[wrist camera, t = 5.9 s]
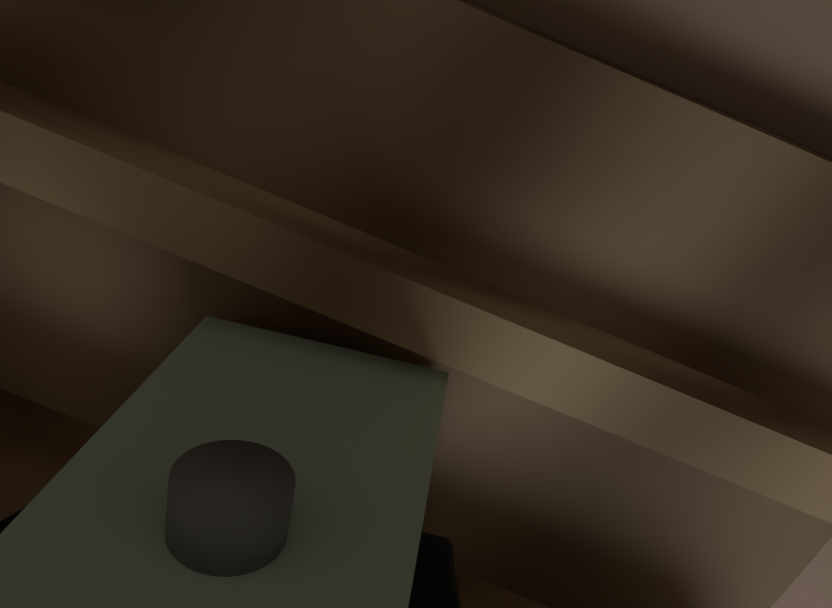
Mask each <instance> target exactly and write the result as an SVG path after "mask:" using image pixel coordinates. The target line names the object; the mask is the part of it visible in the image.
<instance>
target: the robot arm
mask: <svg viewBox="0 0 832 608" xmlns="http://www.w3.org/2000/svg"><path fill="white" fill-rule="evenodd" d="M25 507H26V506H25ZM25 507H24V508H25ZM24 508H22V509H20V510H18V511H17V512H15V513H13V514H12V515H10V516H8V517H7V518H5V519H3V520H2V521H0V534H1V533H2V531H3V530H4V529H5V528H6V527H7V526H8V525H9V524H10V523H11V522H12V521H13V520H14V519H15V518H16V517H17V516H18V515H19V514H20V512H21V511H22V510H23V509H24ZM408 608H461V604H460V599H459V593H458V588H457V582H456V575H455V568H454V558H453V545H452V543H451V542H450V540H449V539H448V538H445V537H441V536H437V535H433V534H429V533H425V532H421V537H420V542H419V548H418V554H417V560H416V565H415V571H414V577H413V583H412V589H411V594H410V600H409V606H408Z"/></svg>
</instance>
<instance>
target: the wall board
mask: <svg viewBox="0 0 832 608" xmlns="http://www.w3.org/2000/svg"><path fill="white" fill-rule="evenodd" d="M206 316H210V317H214V318H218V319H222V320H227V321H231V322H235V323H240V324H244V325H248V326H252V327H257V328H261V329H265V330H270V331H274V332H278V333H282V334H287V335H291V336H295V337H300V338H304V339H308V340H312V341H317V342H321V343H325V344H330V345H334V346H338V347H342V348H347V349H351V350H355V351H360V352H364V353H368V354H372V355H377V356H381V357H385V358H390V359H394V360H398V361H402V362H407V363H411V364H415V365H420V366H424V367H428V368H432V369H437V370H441V371H445V372H449V375H448V381H447V386H446V392H445V398H444V404H443V410H442V415H441V421H440V427H439V433H438V438H437V444H436V450H435V456H434V462H433V467H432V473H431V479H430V485H429V490H428V496H427V502H426V508H425V513H424V519H423V525H422V531H421V532H425V533H429V534H433V535H437V536H441V537H445V538H448V539H449V540H450V542H451V543H452V545H453V558H454V568H455V575H456V582H457V588H458V593H459V599H460V604H461V608H770V607H771V606H772V605H773V604H774V603H775V602H776V601H777V599H778V598H779V597H780V596H781V595H782V594H783V592H784V591H785V590H786V589H787V588H788V587H789V585H790V584H791V583H792V582H793V581H794V580H795V578H796V577H797V576H798V575H799V574H800V573H801V572H802V570H803V569H804V568H805V567H806V566H807V565H808V563H809V562H810V561H811V560H812V559H813V558H814V556H815V555H816V554H817V553H818V552H819V551H820V549H821V548H822V547H823V546H824V545H825V544H826V543H827V541H828V540H829V539H830V538H831V537H832V159H831V158H829V157H826V156H824V155H822V154H819V153H817V152H815V151H812V150H810V149H808V148H805V147H803V146H801V145H799V144H796V143H794V142H792V141H789V140H787V139H785V138H782V137H780V136H778V135H775V134H773V133H771V132H769V131H766V130H764V129H762V128H759V127H757V126H755V125H752V124H750V123H748V122H745V121H743V120H741V119H739V118H736V117H734V116H732V115H729V114H727V113H725V112H722V111H720V110H718V109H715V108H713V107H711V106H708V105H706V104H704V103H702V102H699V101H697V100H695V99H692V98H690V97H688V96H685V95H683V94H681V93H678V92H676V91H674V90H672V89H669V88H667V87H665V86H662V85H660V84H658V83H655V82H653V81H651V80H648V79H646V78H644V77H642V76H639V75H637V74H635V73H632V72H630V71H628V70H625V69H623V68H621V67H618V66H616V65H614V64H611V63H609V62H607V61H605V60H602V59H600V58H598V57H595V56H593V55H591V54H588V53H586V52H584V51H581V50H579V49H577V48H575V47H572V46H570V45H568V44H565V43H563V42H561V41H558V40H556V39H554V38H551V37H549V36H547V35H545V34H542V33H540V32H538V31H535V30H533V29H531V28H528V27H526V26H524V25H521V24H519V23H517V22H514V21H512V20H510V19H508V18H505V17H503V16H501V15H498V14H496V13H494V12H491V11H489V10H487V9H484V8H482V7H480V6H478V5H475V4H473V3H471V2H468V1H466V0H0V521H2V520H3V519H5V518H7V517H8V516H10V515H12V514H13V513H15V512H17V511H18V510H20V509H22V508H24V507H25V506H27V505H28V504H29V503H30V502H31V501H32V500H33V499H34V498H35V497H36V496H37V494H38V493H39V492H40V491H41V490H42V489H43V488H44V487H45V486H46V485H47V484H48V483H49V482H50V481H51V480H52V479H53V478H54V477H55V475H56V474H57V473H58V472H59V471H60V470H61V469H62V468H63V467H64V466H65V465H66V464H67V463H68V462H69V461H70V460H71V459H72V458H73V456H74V455H75V454H76V453H77V452H78V451H79V450H80V449H81V448H82V447H83V446H84V445H85V444H86V443H87V442H88V441H89V440H90V438H91V437H92V436H93V435H94V434H95V433H96V432H97V431H98V430H99V429H100V428H101V427H102V426H103V425H104V424H105V423H106V422H107V421H108V419H109V418H110V417H111V416H112V415H113V414H114V413H115V412H116V411H117V410H118V409H119V408H120V407H121V406H122V405H123V404H124V403H125V401H126V400H127V399H128V398H129V397H130V396H131V395H132V394H133V393H134V392H135V391H136V390H137V389H138V388H139V387H140V386H141V385H142V384H143V382H144V381H145V380H146V379H147V378H148V377H149V376H150V375H151V374H152V373H153V372H154V371H155V370H156V369H157V368H158V367H159V366H160V365H161V363H162V362H163V361H164V360H165V359H166V358H167V357H168V356H169V355H170V354H171V353H172V352H173V351H174V350H175V349H176V348H177V347H178V345H179V344H180V343H181V342H182V341H183V340H184V339H185V338H186V337H187V336H188V335H189V334H190V333H191V332H192V331H193V330H194V329H195V328H196V326H197V325H198V324H199V323H200V322H201V321H202V320H203V319H204V318H205V317H206Z"/></svg>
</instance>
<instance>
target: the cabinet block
mask: <svg viewBox="0 0 832 608" xmlns="http://www.w3.org/2000/svg"><path fill="white" fill-rule="evenodd" d="M448 375H449V372H445V371H441V370H437V369H432V368H428V367H424V366H420V365H415V364H411V363H407V362H402V361H398V360H394V359H390V358H385V357H381V356H377V355H372V354H368V353H364V352H360V351H355V350H351V349H347V348H342V347H338V346H334V345H330V344H325V343H321V342H317V341H312V340H308V339H304V338H300V337H295V336H291V335H287V334H282V333H278V332H274V331H270V330H265V329H261V328H257V327H252V326H248V325H244V324H240V323H235V322H231V321H227V320H222V319H218V318H214V317H210V316H206V317H205V318H204V319H203V320H202V321H201V322H200V323H199V324H198V325H197V326H196V328H195V329H194V330H193V331H192V332H191V333H190V334H189V335H188V336H187V337H186V338H185V339H184V340H183V341H182V342H181V343H180V344H179V345H178V347H177V348H176V349H175V350H174V351H173V352H172V353H171V354H170V355H169V356H168V357H167V358H166V359H165V360H164V361H163V362H162V363H161V365H160V366H159V367H158V368H157V369H156V370H155V371H154V372H153V373H152V374H151V375H150V376H149V377H148V378H147V379H146V380H145V381H144V382H143V384H142V385H141V386H140V387H139V388H138V389H137V390H136V391H135V392H134V393H133V394H132V395H131V396H130V397H129V398H128V399H127V400H126V401H125V403H124V404H123V405H122V406H121V407H120V408H119V409H118V410H117V411H116V412H115V413H114V414H113V415H112V416H111V417H110V418H109V419H108V421H107V422H106V423H105V424H104V425H103V426H102V427H101V428H100V429H99V430H98V431H97V432H96V433H95V434H94V435H93V436H92V437H91V438H90V440H89V441H88V442H87V443H86V444H85V445H84V446H83V447H82V448H81V449H80V450H79V451H78V452H77V453H76V454H75V455H74V456H73V458H72V459H71V460H70V461H69V462H68V463H67V464H66V465H65V466H64V467H63V468H62V469H61V470H60V471H59V472H58V473H57V474H56V475H55V477H54V478H53V479H52V480H51V481H50V482H49V483H48V484H47V485H46V486H45V487H44V488H43V489H42V490H41V491H40V492H39V493H38V494H37V496H36V497H35V498H34V499H33V500H32V501H31V502H30V503H29V504H28V505H27V506H26V507H25V508H24V509H23V510H22V511H21V512H20V514H19V515H18V516H17V517H16V518H15V519H14V520H13V521H12V522H11V523H10V524H9V525H8V526H7V527H6V528H5V529H4V530H3V531H2V533H1V534H0V608H408V606H409V600H410V594H411V589H412V583H413V577H414V571H415V565H416V560H417V554H418V548H419V542H420V537H421V531H422V525H423V519H424V513H425V508H426V502H427V496H428V490H429V485H430V479H431V473H432V467H433V462H434V456H435V450H436V444H437V438H438V433H439V427H440V421H441V415H442V410H443V404H444V398H445V392H446V386H447V381H448Z"/></svg>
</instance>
